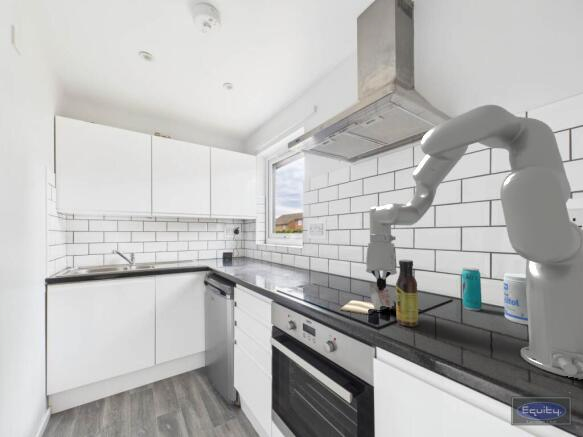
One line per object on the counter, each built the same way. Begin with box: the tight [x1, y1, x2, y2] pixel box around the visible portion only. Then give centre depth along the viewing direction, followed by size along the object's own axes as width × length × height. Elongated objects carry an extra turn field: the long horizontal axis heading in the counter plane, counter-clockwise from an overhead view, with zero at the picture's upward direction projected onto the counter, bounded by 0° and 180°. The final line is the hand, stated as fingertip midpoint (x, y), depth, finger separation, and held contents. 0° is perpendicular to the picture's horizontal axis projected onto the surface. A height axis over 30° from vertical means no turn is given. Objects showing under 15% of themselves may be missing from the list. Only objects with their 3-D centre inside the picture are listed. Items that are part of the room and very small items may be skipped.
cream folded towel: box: [339, 299, 374, 315], centre depth 96 cm, size 14×11×1 cm
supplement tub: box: [503, 272, 528, 326], centre depth 81 cm, size 10×10×15 cm
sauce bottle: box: [395, 259, 419, 328], centre depth 79 cm, size 7×6×20 cm
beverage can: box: [461, 267, 483, 312], centre depth 95 cm, size 6×6×15 cm
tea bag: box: [369, 281, 395, 310], centre depth 94 cm, size 4×7×10 cm, turn 125°
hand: (381, 289), depth 92 cm, fingers closed
